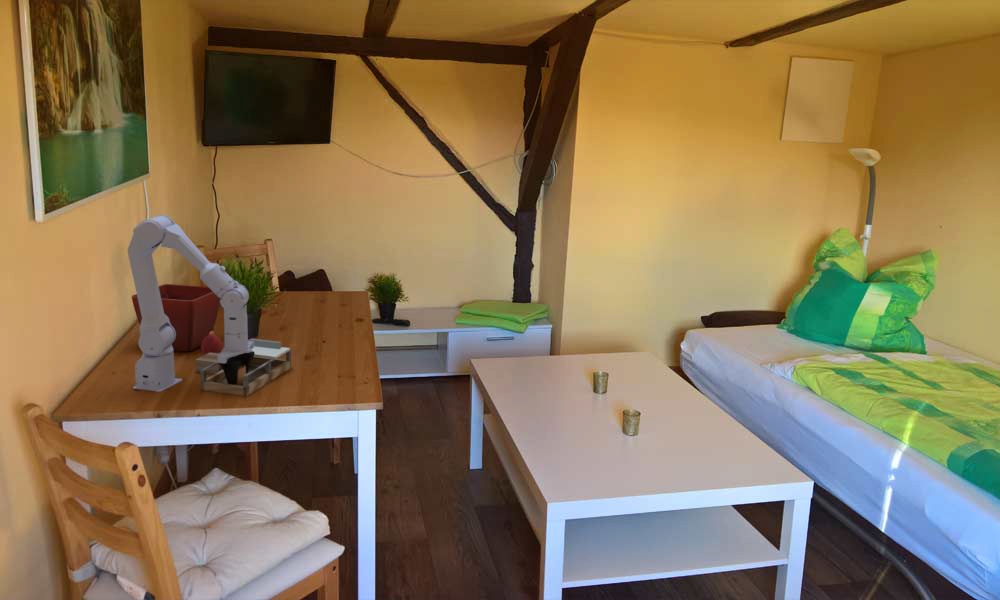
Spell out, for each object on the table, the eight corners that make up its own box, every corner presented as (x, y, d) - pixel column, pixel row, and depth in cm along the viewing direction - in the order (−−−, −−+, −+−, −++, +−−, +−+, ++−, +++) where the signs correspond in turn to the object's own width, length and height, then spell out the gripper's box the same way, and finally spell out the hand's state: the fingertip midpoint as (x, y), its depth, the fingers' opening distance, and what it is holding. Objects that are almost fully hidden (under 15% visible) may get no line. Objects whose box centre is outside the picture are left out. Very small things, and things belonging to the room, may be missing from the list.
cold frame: (247, 397, 187) (246, 376, 186) (200, 391, 189) (200, 370, 188) (291, 368, 210) (290, 349, 209) (249, 363, 212) (249, 344, 211)
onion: (218, 361, 213) (217, 335, 211) (198, 360, 213) (197, 333, 211) (225, 355, 218) (224, 329, 216) (206, 354, 218) (205, 328, 217)
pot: (240, 388, 192) (240, 370, 191) (225, 386, 193) (224, 368, 191) (249, 383, 196) (248, 365, 195) (234, 381, 197) (233, 363, 196)
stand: (218, 376, 201) (218, 362, 200) (195, 373, 202) (195, 359, 201) (232, 368, 207) (232, 355, 206) (210, 365, 209) (209, 352, 208)
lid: (275, 358, 199) (275, 350, 199) (229, 353, 202) (229, 344, 201) (290, 350, 208) (290, 342, 207) (246, 344, 210) (245, 336, 209)
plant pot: (167, 334, 236) (165, 282, 232) (224, 338, 234) (223, 287, 230) (132, 351, 217) (129, 296, 213) (194, 356, 216) (192, 301, 212)
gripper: (234, 340, 183) (236, 392, 186) (264, 326, 197) (264, 374, 200) (209, 337, 185) (211, 388, 188) (240, 323, 198) (241, 371, 202)
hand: (237, 381), depth 194 cm, fingers closed on pot, 4 cm apart
